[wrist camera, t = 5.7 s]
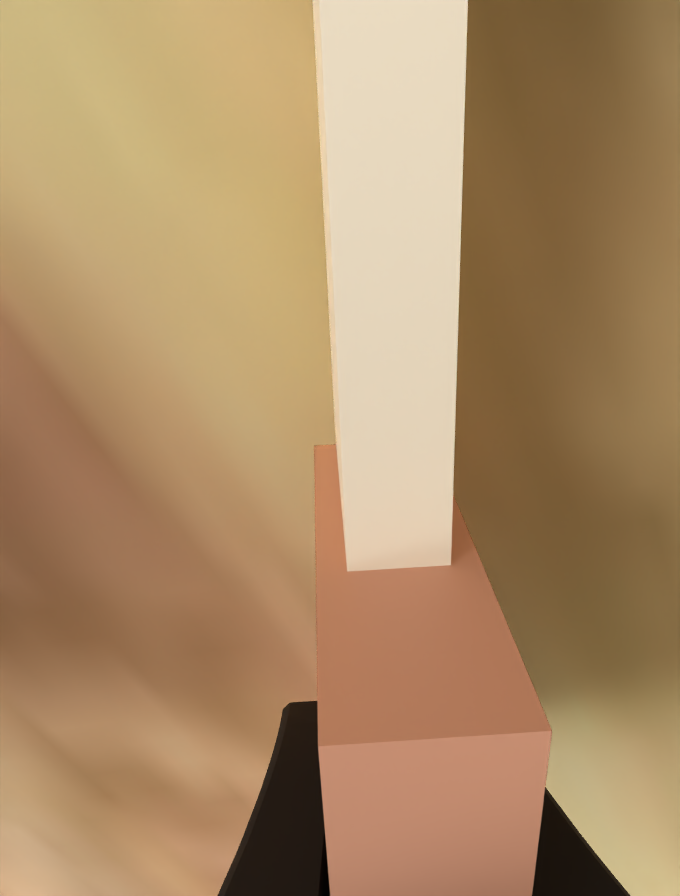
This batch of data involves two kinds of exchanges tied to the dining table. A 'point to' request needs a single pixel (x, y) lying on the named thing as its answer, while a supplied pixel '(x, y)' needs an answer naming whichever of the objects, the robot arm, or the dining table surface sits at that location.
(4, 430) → the dining table surface
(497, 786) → the cream pillar on pink
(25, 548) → the dining table surface
